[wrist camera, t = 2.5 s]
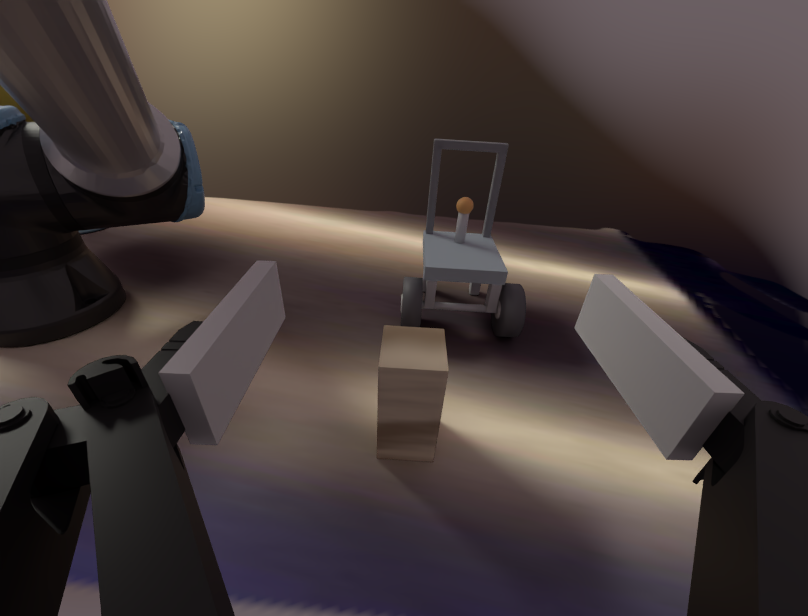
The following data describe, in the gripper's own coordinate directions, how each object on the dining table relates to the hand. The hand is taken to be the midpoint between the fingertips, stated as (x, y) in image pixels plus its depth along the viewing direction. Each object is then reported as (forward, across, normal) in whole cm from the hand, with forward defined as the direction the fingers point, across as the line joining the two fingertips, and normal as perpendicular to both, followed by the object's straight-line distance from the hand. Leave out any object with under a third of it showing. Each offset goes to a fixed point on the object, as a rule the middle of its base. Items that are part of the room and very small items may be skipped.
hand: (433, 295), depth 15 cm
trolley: (+29, +6, -20) cm, 36 cm away
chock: (+9, 0, -20) cm, 22 cm away
